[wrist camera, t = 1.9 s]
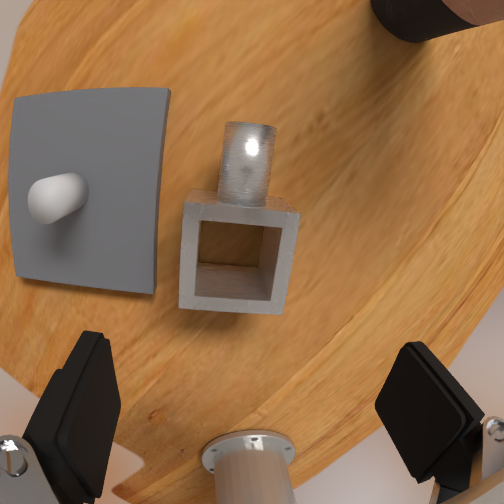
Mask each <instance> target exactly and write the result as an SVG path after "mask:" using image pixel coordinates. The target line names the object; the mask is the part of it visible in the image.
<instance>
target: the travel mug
mask: <svg viewBox="0 0 504 504" xmlns="http://www.w3.org/2000/svg"><path fill="white" fill-rule="evenodd" d="M371 4H372V7H373V10H374V12H375V14H376V16H377V18H378V19H379V21H380V22H381V23H382V24H383V25H384V27H385V28H386V29H387V30H389V31H390V32H391V33H392V34H394V35H395V36H397V37H398V38H400V39H402V40H405V41H408V42H414V43H417V42H423V41H426V40H430V39H433V38H436V37H440V36H443V35H447V34H450V33H454V32H458V31H461V30H465V29H469V28H473V27H478V26H481V25H486V24H489V23H493V22H497V21H500V20H504V0H371Z"/></svg>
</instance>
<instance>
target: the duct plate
mask: <svg viewBox="0 0 504 504" xmlns="http://www.w3.org/2000/svg"><path fill="white" fill-rule="evenodd" d="M170 95H171V91H170V90H169V88H146V87H131V88H99V89H83V90H71V91H61V92H52V93H44V94H37V95H30V96H24V97H18V98H15V100H14V107H13V115H12V123H11V134H10V148H9V176H8V188H9V216H10V230H11V241H12V250H13V258H14V265H15V272H16V276H17V277H24V278H30V279H36V280H43V281H50V282H57V283H64V284H71V285H78V286H86V287H94V288H102V289H110V290H119V291H128V292H137V293H147V294H154V291H155V289H156V271H157V234H158V213H159V197H160V183H161V171H162V160H163V150H164V141H165V132H166V124H167V116H168V109H169V102H170Z"/></svg>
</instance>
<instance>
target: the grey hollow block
mask: <svg viewBox="0 0 504 504" xmlns="http://www.w3.org/2000/svg"><path fill="white" fill-rule="evenodd" d="M276 129H277V128H275V127H271V126H267V125H262V124H256V123H247V122H226V124H225V132H224V139H223V147H222V155H221V164H220V172H219V181H218V190H217V191H213V190H202V189H191V191H190V193H189V194H188V196H187V198H186V200H185V201H184V210H183V223H182V238H181V256H180V277H179V308H183V309H195V310H208V311H222V312H237V313H256V314H277V315H282V314H283V309H284V304H285V299H286V294H287V289H288V283H289V278H290V273H291V267H292V262H293V256H294V251H295V245H296V240H297V234H298V228H299V222H300V216H301V213H299V212H298V211H297V210H296V209H294V208H293V207H292V206H290V205H289V204H288V203H287V202H285V201H284V200H283V199H282V198H278V197H269V196H267V194H268V187H269V180H270V173H271V166H272V158H273V151H274V144H275V136H276ZM202 220H205V221H217V222H228V223H238V224H249V225H259V226H264V231H263V238H262V245H261V252H260V259H259V266H258V267H248V266H235V265H222V264H210V263H198V261H199V247H200V235H201V223H202Z"/></svg>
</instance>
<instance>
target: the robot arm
mask: <svg viewBox="0 0 504 504" xmlns="http://www.w3.org/2000/svg"><path fill="white" fill-rule="evenodd" d="M120 409H121V401H120V396H119V391H118V386H117V381H116V376H115V370H114V364H113V358H112V352H111V346H110V341H109V339H106V338H104V335H103V333H99V332H92V331H86V330H85V331H83V333H82V334H81V336H80V338H79V339H78V341H77V343H76V345H75V346H74V348H73V350H72V352H71V354H70V355H69V357H68V359H67V361H66V363H65V365H64V366H63V368H62V369H57V370H56V371H55V372H54V374H53V376H52V377H51V379H50V381H49V383H48V385H47V387H46V389H45V391H44V393H43V395H42V397H41V399H40V400H39V402H38V405H37V407H36V409H35V411H34V413H33V415H32V417H31V419H30V421H29V423H28V426H27V428H26V430H25V432H24V434H23V436H22V438H20V437H18V436H14V435H3V436H1V437H0V504H83V503H88V504H94V502H95V498H100V497H101V495H102V490H103V485H104V480H105V475H106V470H107V465H108V460H109V456H110V451H111V446H112V442H113V438H114V434H115V430H116V426H117V422H118V418H119V414H120ZM375 409H376V412H377V413H378V415H379V417H380V419H381V421H382V422H383V424H384V426H385V428H386V430H387V431H388V433H389V435H390V437H391V439H392V441H393V443H394V444H395V446H396V448H397V450H398V452H399V454H400V456H401V457H402V459H403V461H404V463H405V465H406V467H407V469H408V471H409V472H410V474H411V476H412V477H413V478H416V480H417V482H418V484H419V483H422V482H424V481H427V480H429V479H430V478H431V477H432V476H434V477H435V482H434V487H433V490H432V494H431V499H430V502H429V504H504V420H503V419H502V418H499V417H495V416H492V417H488V418H487V419H486V420H485V421H484V422H483V424H482V425H481V423H480V421H481V420H482V418H483V417H484V415H485V414H484V413H483V411H482V410H481V409H480V408H479V407H478V405H477V404H476V403H475V402H474V400H473V399H472V398H471V397H470V396H469V395H468V393H467V392H466V391H465V390H464V388H463V387H462V386H461V385H460V384H459V383H458V381H457V380H456V379H455V378H454V377H453V376H452V375H451V373H450V372H449V371H448V370H447V369H446V368H445V366H444V365H443V364H442V363H441V362H440V361H439V360H438V359H437V357H436V356H435V355H434V354H433V353H432V352H431V351H430V350H429V349H428V347H427V346H426V345H425V344H424V343H423V342H420V341H417V342H408V343H406V344H405V345H404V346H403V347H402V348H401V349H400V351H399V353H398V356H397V358H396V360H395V362H394V365H393V367H392V369H391V371H390V373H389V375H388V377H387V379H386V381H385V383H384V385H383V387H382V389H381V391H380V393H379V395H378V397H377V399H376V401H375ZM294 457H295V448H294V445H293V442H292V441H291V440H290V439H289V438H288V437H286V436H284V435H282V434H280V433H276V432H272V431H265V430H246V431H239V432H233V433H230V434H226V435H223V436H221V437H218V438H216V439H214V440H213V441H211V442H210V443H209V444H207V445H206V446H205V448H204V449H203V451H202V464H203V466H204V467H205V468H206V470H208V471H209V472H211V473H212V474H214V482H215V498H216V504H296V500H295V497H294V493H293V489H292V485H291V480H290V476H289V472H288V468H287V466H288V465H289V464H290V463H291V462H292V460H293V459H294Z"/></svg>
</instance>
